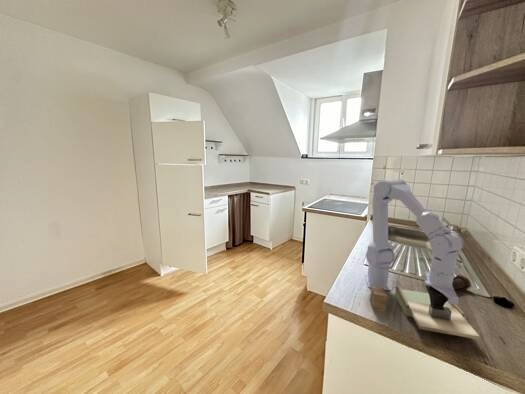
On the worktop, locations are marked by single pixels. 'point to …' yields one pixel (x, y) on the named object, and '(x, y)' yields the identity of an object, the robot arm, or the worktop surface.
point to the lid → (441, 320)
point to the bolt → (461, 282)
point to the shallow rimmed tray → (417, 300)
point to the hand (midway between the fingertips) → (435, 309)
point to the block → (378, 298)
